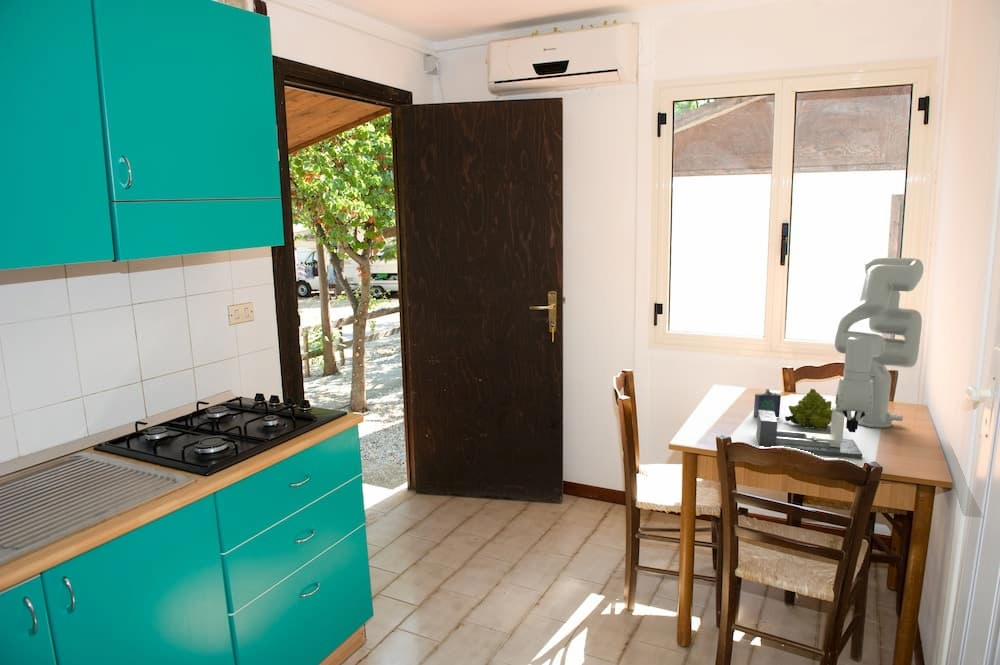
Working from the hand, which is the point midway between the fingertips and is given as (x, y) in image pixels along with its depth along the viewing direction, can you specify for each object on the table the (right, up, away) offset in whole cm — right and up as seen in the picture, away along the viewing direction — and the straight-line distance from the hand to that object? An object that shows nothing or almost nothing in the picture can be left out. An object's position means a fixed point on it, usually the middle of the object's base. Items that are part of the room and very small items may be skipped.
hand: (851, 430), depth 212 cm
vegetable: (-1, -2, +25) cm, 25 cm away
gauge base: (-12, -6, +5) cm, 14 cm away
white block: (-8, -5, +3) cm, 10 cm away
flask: (-13, 0, +36) cm, 38 cm away
